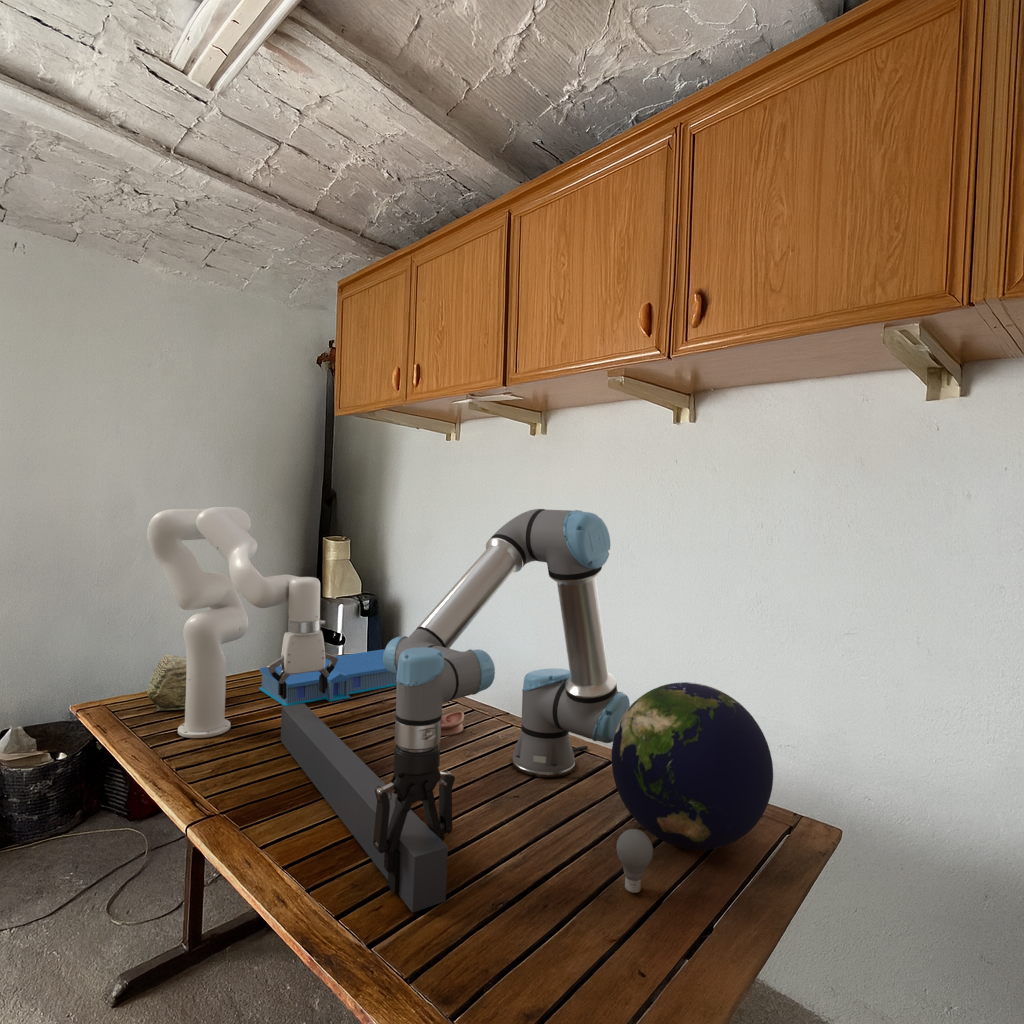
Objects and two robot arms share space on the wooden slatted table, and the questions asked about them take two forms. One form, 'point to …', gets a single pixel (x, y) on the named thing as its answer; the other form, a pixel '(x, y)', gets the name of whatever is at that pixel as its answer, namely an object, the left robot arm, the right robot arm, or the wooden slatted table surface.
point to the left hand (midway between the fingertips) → (303, 694)
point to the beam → (365, 806)
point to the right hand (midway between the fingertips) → (411, 882)
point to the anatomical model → (452, 723)
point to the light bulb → (634, 857)
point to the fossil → (169, 683)
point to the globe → (692, 766)
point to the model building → (333, 679)
